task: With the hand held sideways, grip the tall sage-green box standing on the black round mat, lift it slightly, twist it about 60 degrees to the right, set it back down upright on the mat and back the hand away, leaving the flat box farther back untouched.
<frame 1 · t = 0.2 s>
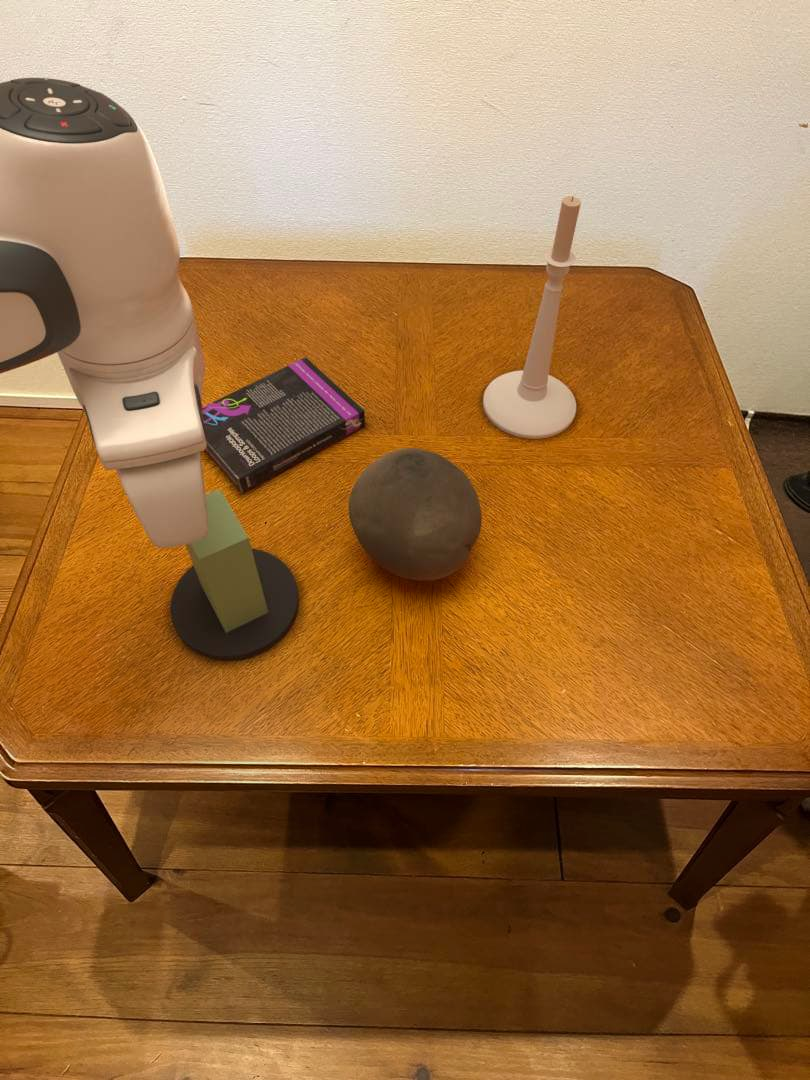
hand: (175, 487, 60), 25 cm above the table, tool pointing down, fingers open, 8 cm apart
candlestick: (528, 406, 102), on the table
box: (277, 431, 99), on the table
green box: (245, 619, 80), point 1 cm above the table, touching mat
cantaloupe: (414, 557, 87), on the table
mat: (236, 604, 83), on the table
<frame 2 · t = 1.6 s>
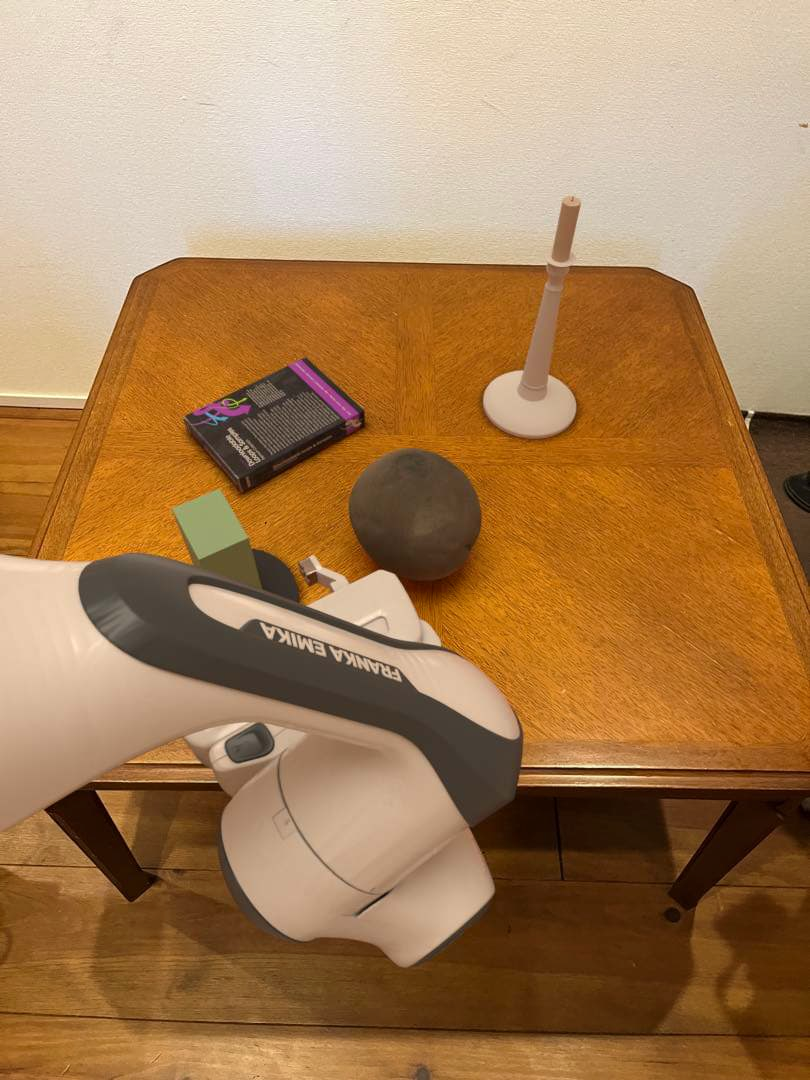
hand: (254, 586, 60), 20 cm above the table, tool horizontal, fingers open, 8 cm apart
nothing on the table moved.
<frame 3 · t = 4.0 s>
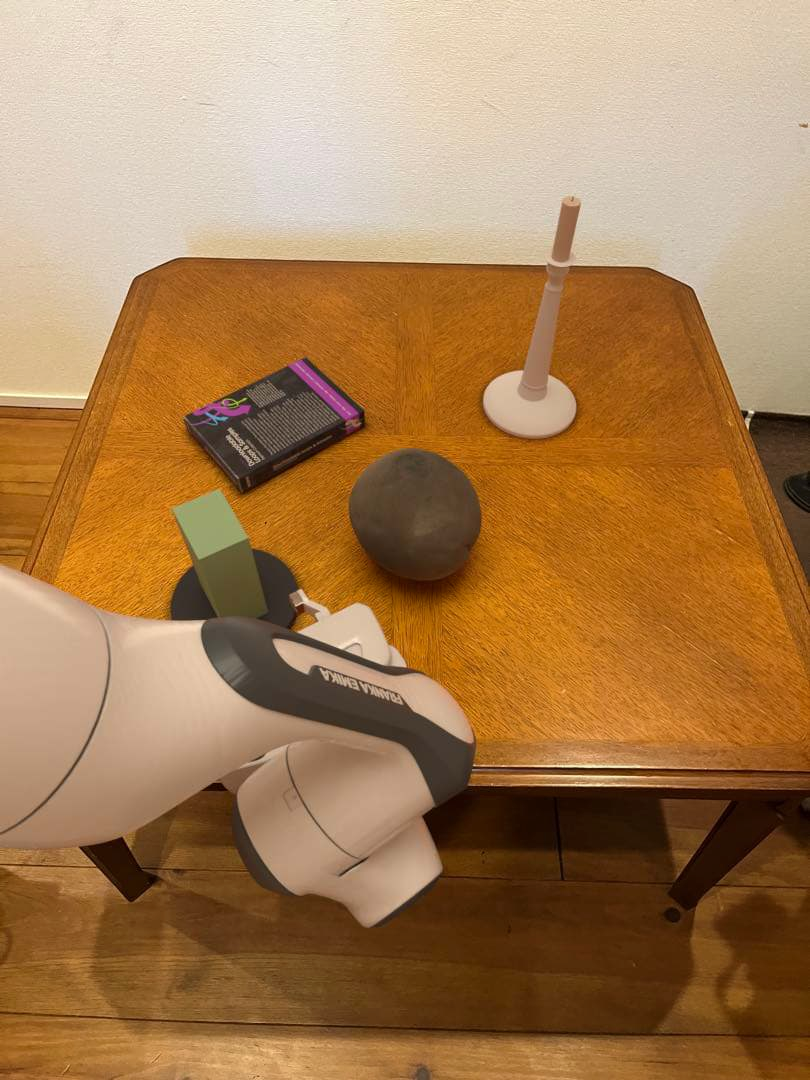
hand: (251, 615, 72), 9 cm above the table, tool horizontal, fingers open, 8 cm apart
nothing on the table moved.
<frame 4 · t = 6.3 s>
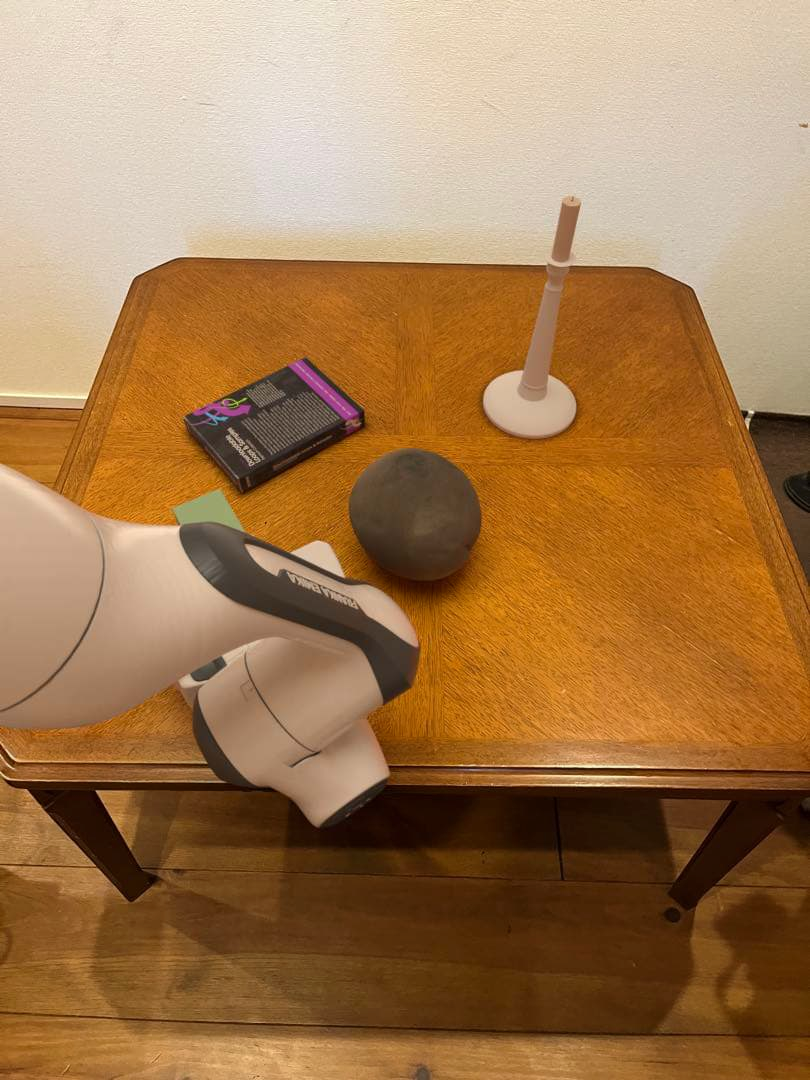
hand: (217, 553, 76), 9 cm above the table, tool horizontal, fingers closed on green box, 5 cm apart
green box: (245, 619, 80), point 1 cm above the table, touching gripper, mat
everything else where it was.
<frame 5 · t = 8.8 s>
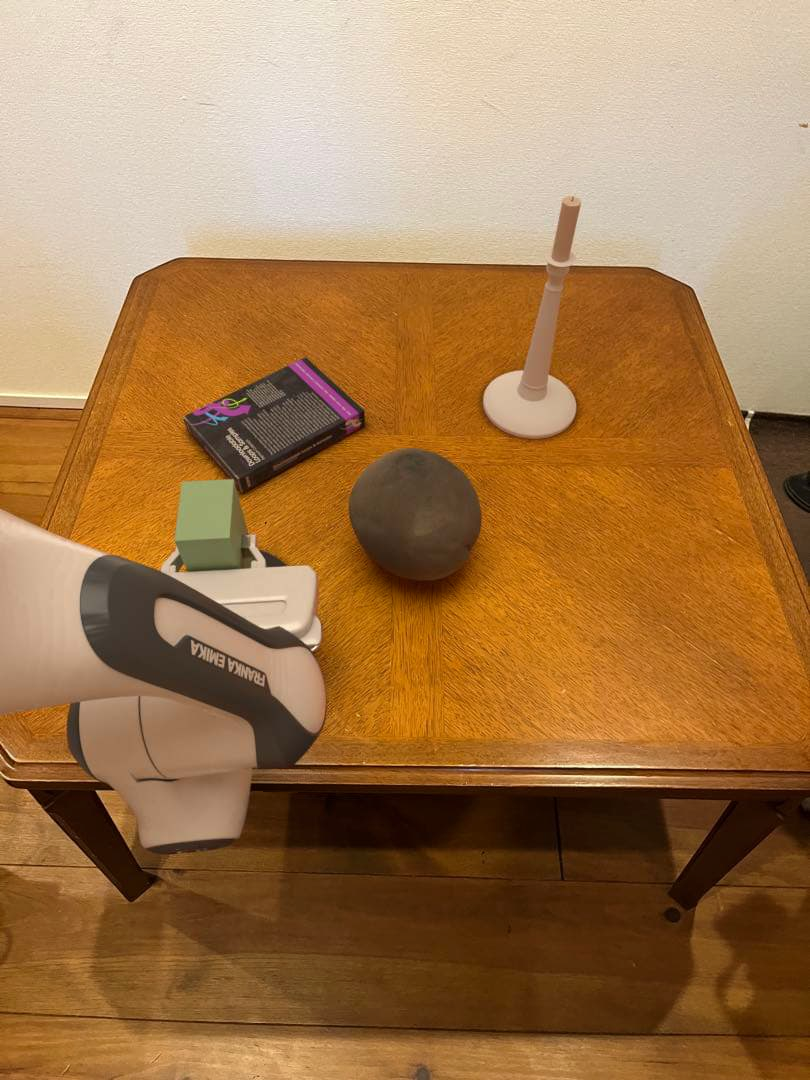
hand: (217, 539, 74), 11 cm above the table, tool horizontal, fingers closed on green box, 5 cm apart
green box: (229, 611, 79), point 3 cm above the table, touching gripper
everything else where it was.
when the fingers open (9 cm above the table, at t = 11.3 s): green box stays where it is, resting on mat.
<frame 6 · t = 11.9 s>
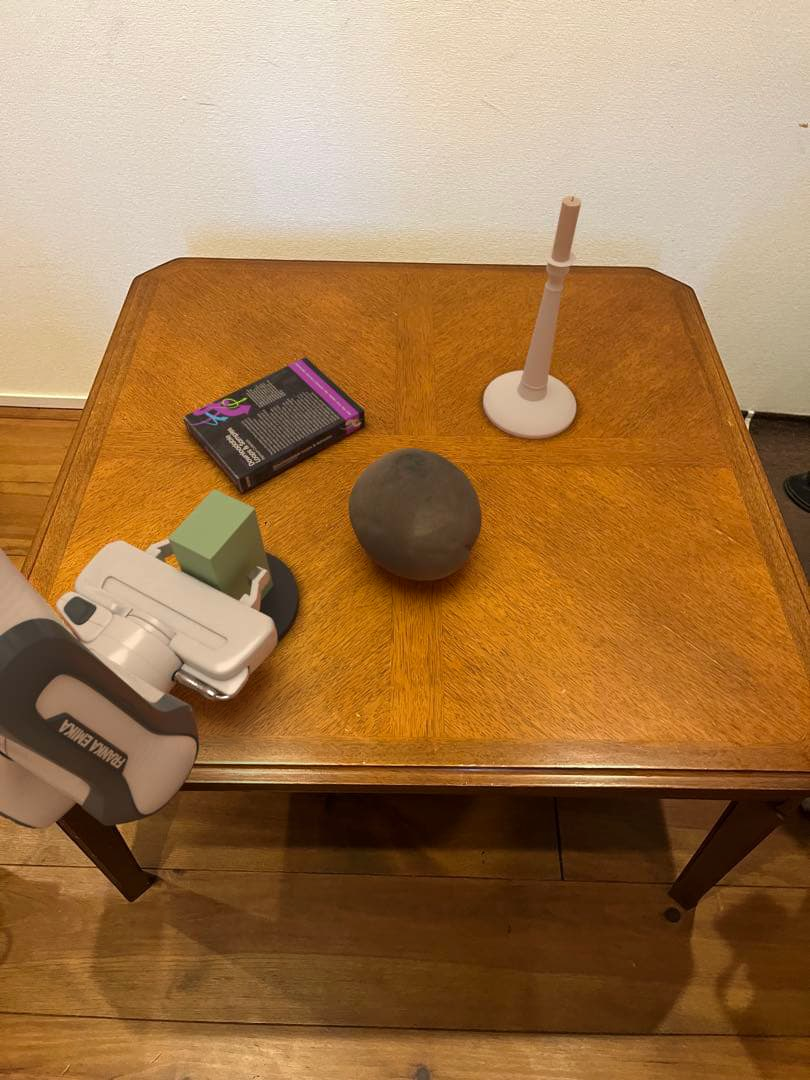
hand: (226, 552, 76), 9 cm above the table, tool horizontal, fingers open, 8 cm apart
green box: (220, 619, 80), point 1 cm above the table, touching mat
everything else where it was.
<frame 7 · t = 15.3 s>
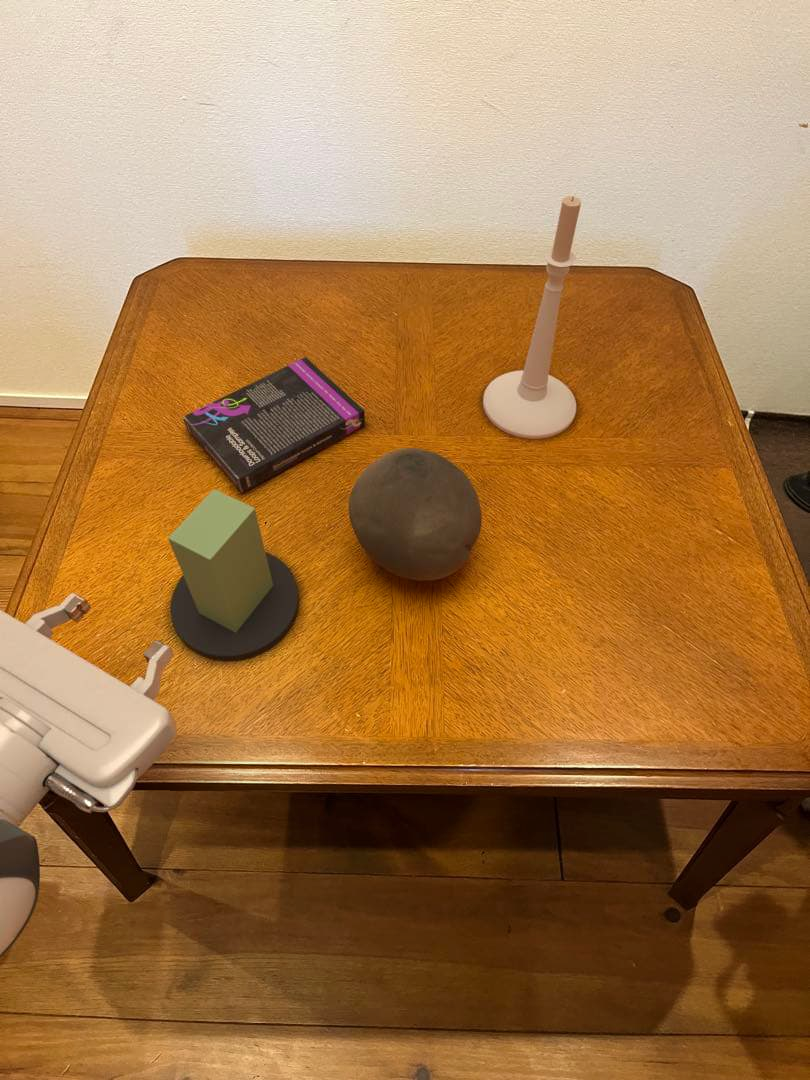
hand: (123, 622, 65), 14 cm above the table, tool horizontal, fingers open, 8 cm apart
nothing on the table moved.
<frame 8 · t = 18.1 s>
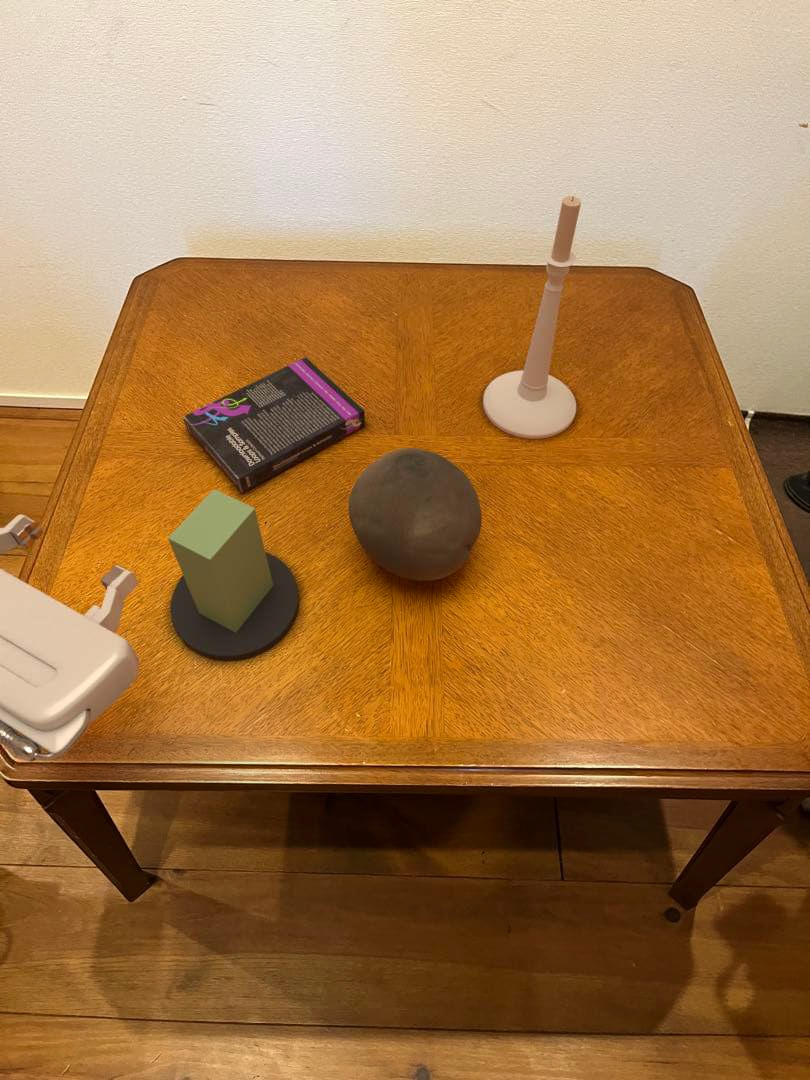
hand: (79, 547, 55), 26 cm above the table, tool horizontal, fingers open, 8 cm apart
nothing on the table moved.
at the end: green box 0.2 cm from the target spot, point 1.2 cm above the table; green box tilted 0°; box moved 0.2 cm from its start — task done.
